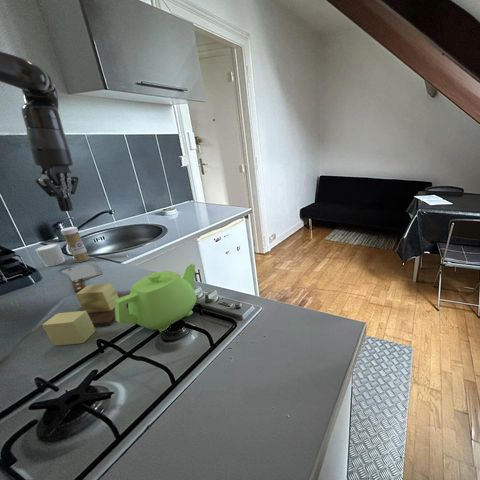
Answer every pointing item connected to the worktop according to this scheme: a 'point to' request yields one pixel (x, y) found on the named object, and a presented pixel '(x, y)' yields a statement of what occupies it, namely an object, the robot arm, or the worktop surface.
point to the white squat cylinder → (50, 254)
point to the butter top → (69, 328)
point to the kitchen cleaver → (81, 274)
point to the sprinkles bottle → (75, 244)
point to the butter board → (99, 303)
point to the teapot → (158, 300)
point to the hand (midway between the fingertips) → (66, 210)
